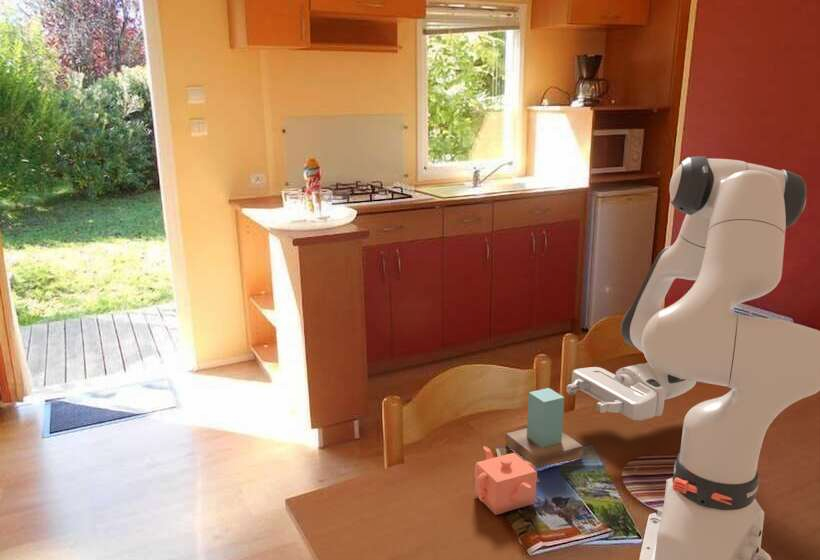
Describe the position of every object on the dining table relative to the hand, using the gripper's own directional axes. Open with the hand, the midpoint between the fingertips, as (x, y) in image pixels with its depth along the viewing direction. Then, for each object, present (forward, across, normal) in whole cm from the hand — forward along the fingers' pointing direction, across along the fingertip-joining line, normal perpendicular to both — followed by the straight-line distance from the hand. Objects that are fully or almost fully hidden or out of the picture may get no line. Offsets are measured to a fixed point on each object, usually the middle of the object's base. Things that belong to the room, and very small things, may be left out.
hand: (583, 398), depth 135 cm
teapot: (+26, +11, +10) cm, 30 cm away
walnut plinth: (+10, 0, +10) cm, 14 cm away
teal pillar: (+10, 0, +7) cm, 12 cm away
